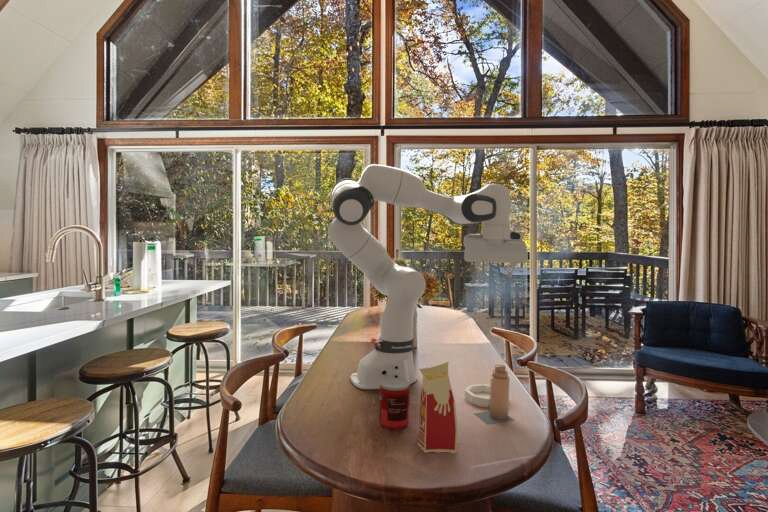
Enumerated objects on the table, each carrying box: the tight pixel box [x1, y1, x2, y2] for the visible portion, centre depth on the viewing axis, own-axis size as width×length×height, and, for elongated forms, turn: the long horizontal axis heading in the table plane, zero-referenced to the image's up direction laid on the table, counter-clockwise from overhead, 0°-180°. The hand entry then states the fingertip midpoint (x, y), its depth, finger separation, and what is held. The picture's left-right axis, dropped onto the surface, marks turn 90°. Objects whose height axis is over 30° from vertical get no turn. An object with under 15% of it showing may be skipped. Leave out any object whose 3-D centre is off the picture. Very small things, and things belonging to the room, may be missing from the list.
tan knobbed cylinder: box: [489, 364, 510, 420], centre depth 118 cm, size 5×5×14 cm
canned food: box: [378, 378, 410, 431], centre depth 113 cm, size 8×8×11 cm
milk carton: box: [417, 361, 458, 454], centre depth 102 cm, size 9×9×20 cm
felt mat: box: [473, 410, 516, 425], centre depth 118 cm, size 8×7×1 cm
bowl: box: [464, 383, 490, 408], centre depth 130 cm, size 12×12×3 cm
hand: (494, 276), depth 141 cm, fingers open, 8 cm apart
